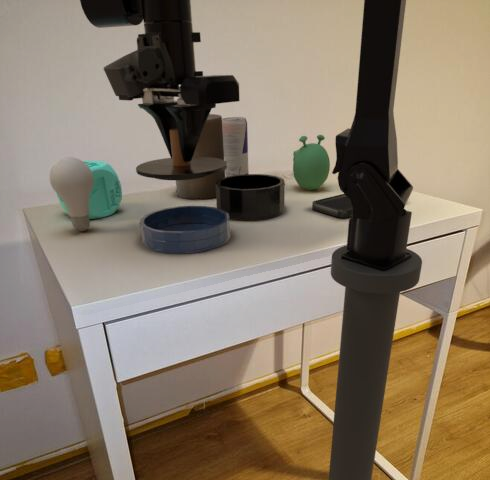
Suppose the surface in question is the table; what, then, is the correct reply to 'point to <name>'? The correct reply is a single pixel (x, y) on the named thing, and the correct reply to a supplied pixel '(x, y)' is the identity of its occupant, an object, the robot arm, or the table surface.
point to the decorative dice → (102, 190)
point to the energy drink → (235, 145)
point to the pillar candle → (206, 147)
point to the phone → (334, 206)
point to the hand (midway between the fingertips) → (181, 160)
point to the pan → (185, 229)
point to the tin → (251, 196)
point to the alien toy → (311, 164)
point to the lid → (180, 165)
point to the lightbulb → (73, 188)
